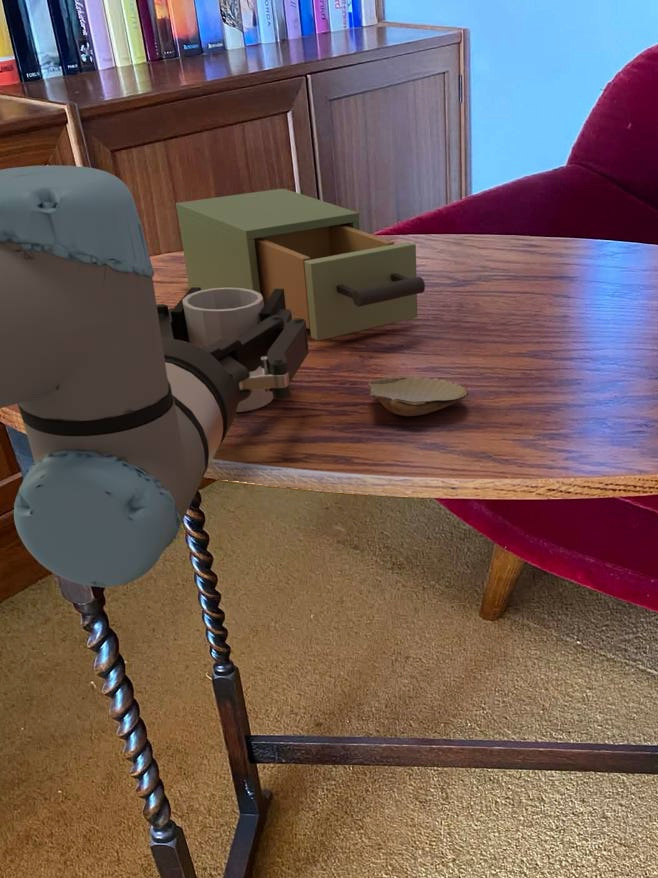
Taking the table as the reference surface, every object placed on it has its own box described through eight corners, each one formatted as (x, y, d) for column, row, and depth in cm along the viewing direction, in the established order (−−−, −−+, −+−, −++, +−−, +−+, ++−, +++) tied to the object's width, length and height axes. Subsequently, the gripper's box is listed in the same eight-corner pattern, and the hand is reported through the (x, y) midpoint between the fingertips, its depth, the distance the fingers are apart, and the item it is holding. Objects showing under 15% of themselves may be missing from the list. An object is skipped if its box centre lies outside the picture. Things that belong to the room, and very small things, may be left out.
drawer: (444, 328, 91) (444, 253, 87) (343, 353, 85) (337, 274, 81) (341, 285, 102) (336, 217, 98) (244, 305, 96) (235, 233, 92)
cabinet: (364, 300, 100) (359, 212, 95) (257, 324, 94) (245, 230, 89) (291, 270, 109) (283, 188, 104) (189, 289, 103) (175, 203, 98)
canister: (186, 395, 79) (168, 296, 74) (251, 379, 82) (238, 283, 77) (220, 418, 75) (205, 315, 70) (287, 400, 78) (276, 300, 74)
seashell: (474, 423, 79) (396, 382, 81) (485, 389, 78) (405, 348, 80) (422, 443, 73) (339, 398, 75) (434, 406, 71) (348, 361, 73)
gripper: (28, 468, 63) (132, 347, 81) (321, 472, 63) (358, 351, 81) (-4, 355, 58) (114, 255, 77) (311, 359, 58) (352, 259, 77)
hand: (239, 304), depth 79 cm, fingers closed on canister, 6 cm apart
